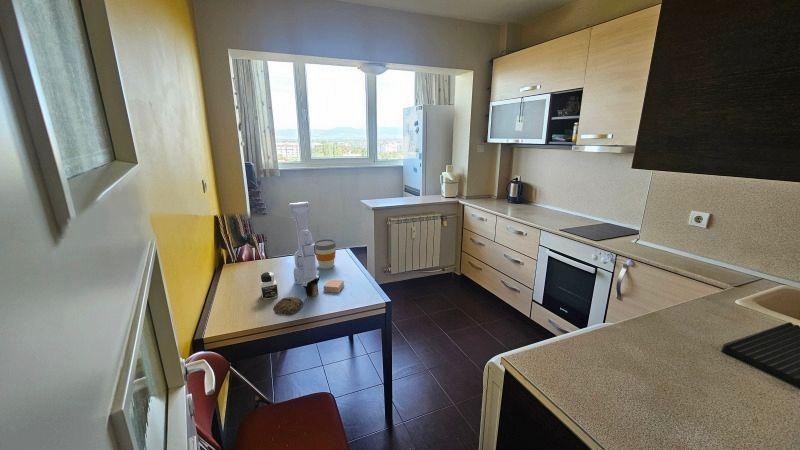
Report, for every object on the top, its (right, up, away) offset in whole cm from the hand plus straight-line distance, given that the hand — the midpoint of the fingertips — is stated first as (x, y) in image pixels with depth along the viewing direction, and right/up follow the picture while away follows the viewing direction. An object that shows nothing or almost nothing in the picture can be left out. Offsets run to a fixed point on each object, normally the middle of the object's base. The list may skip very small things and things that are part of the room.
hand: (312, 292), depth 166 cm
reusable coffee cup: (-1, +9, +37) cm, 38 cm away
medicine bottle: (-21, -2, 0) cm, 21 cm away
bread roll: (-9, -5, -11) cm, 15 cm away
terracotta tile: (+10, +1, +7) cm, 12 cm away
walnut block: (0, -1, 0) cm, 2 cm away
